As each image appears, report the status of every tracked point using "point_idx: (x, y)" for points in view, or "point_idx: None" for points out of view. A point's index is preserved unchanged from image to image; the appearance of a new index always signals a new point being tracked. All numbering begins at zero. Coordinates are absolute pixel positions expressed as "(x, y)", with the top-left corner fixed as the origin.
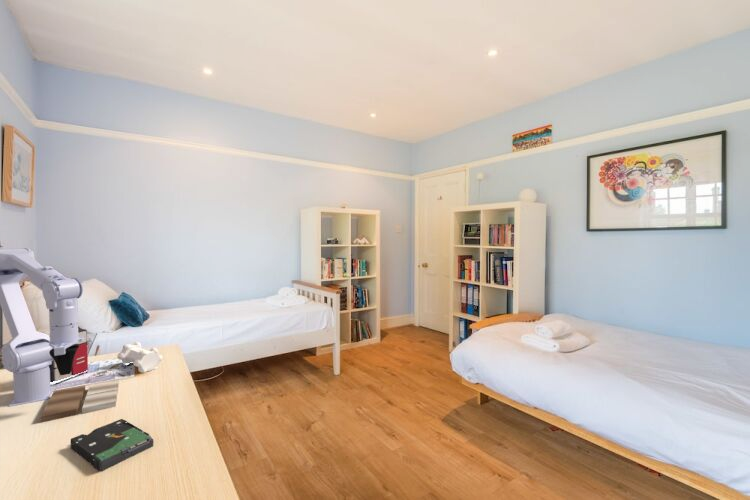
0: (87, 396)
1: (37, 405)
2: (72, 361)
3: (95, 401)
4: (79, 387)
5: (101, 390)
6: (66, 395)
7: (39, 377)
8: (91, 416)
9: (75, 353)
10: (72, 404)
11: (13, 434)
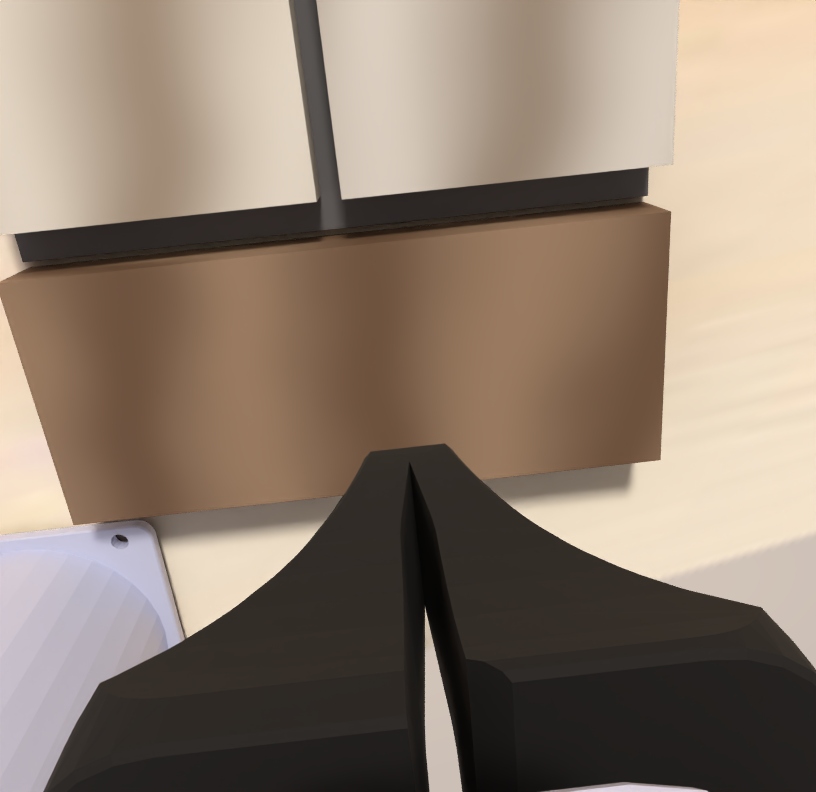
0: (366, 181)
1: (228, 556)
2: (530, 521)
3: (561, 62)
4: (43, 327)
5: (232, 60)
6: (239, 391)
7: (47, 738)
8: (724, 66)
9: (287, 601)
10: (520, 278)
11: (704, 537)
